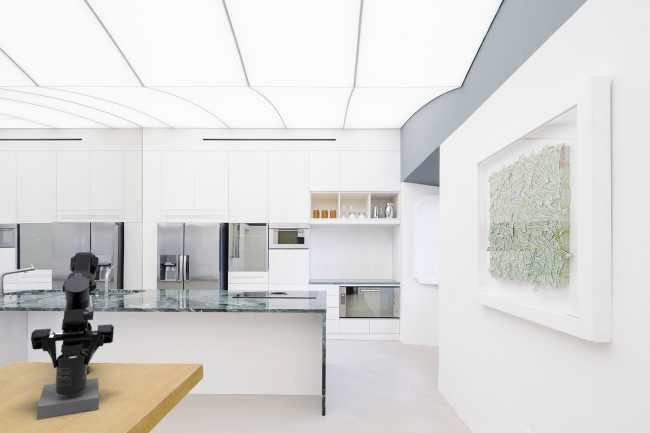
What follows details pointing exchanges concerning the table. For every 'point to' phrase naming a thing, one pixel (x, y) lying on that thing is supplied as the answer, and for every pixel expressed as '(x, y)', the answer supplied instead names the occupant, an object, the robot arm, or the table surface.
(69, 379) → the supplement bottle
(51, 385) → the riser block
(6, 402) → the table surface
